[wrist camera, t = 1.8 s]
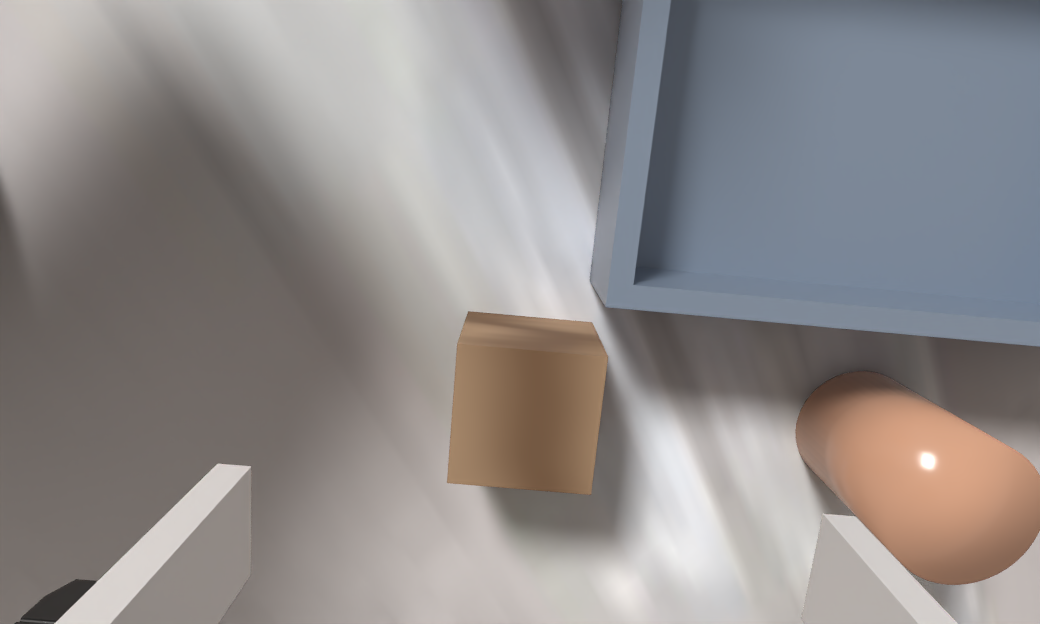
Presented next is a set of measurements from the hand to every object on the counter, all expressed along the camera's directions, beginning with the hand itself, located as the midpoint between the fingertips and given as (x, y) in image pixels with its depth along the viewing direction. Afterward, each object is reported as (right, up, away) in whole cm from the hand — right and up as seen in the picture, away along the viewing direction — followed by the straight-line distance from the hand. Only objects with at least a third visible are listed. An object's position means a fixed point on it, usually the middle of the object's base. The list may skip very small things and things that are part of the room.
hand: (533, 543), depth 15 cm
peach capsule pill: (+14, 0, +13) cm, 19 cm away
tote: (+13, +13, +10) cm, 21 cm away
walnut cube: (0, +3, +12) cm, 12 cm away
